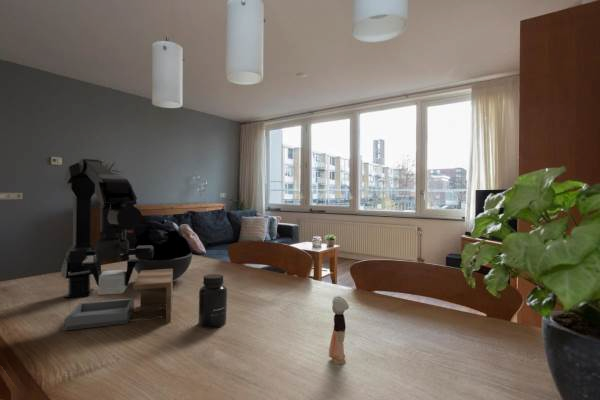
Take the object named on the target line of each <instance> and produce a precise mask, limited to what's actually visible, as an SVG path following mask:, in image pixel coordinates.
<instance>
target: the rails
mask: <svg viewBox="0 0 600 400" xmlns="http://www.w3.org/2000/svg"><path fill="white" fill-rule="evenodd" d="M163 309H166V306H162V307H154V308H152V307H151V308H143V309H133V312H132V313H134V312H145V311H146V312H147V311H153V310H154V311H155V310H163ZM165 318H166V315H161V316H154V317H151V316H150V317H145V318H144V317H143V318H137V319H135V318H134V319H129V321H128V323H130V322H131V323H132V322H139V321H148V320H155V319H165ZM61 330H65V326H64V327H62V329H61Z"/></svg>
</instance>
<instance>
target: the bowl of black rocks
mask: <svg viewBox="0 0 600 400" xmlns="http://www.w3.org/2000/svg"><path fill="white" fill-rule="evenodd" d="M150 233H151V232H150V230H148V229H147V230H146V229H145V230H144V231H143V232H142V233H141V234H138V236H136V238H135V239H136V240H137V241H136V242H135V244H134V248H133V249H136V248H137V247H138V246H144V245H152V246H153V247H154V256H153V258H152V259H142V260H141V262H139V263H136V265H135V267H134V270H135V271H136V272H137V274H138V275H139V273H140V272H141V271H144V270H160V269H173V281H175V280H177V279H179V278H180V277H182V275H184V273H186V272H187V270H188V269H189V266H190V265H191V262H192V258H193V253H192V251H191V248H190V246H189V245H188V244H189V243H188V242H187V239H186V237H184V236H182V235H181V234H180V232H179V231H178V230H171V231H167V232H166V233H163V236H165V237H168V238H166V240H165V241H163V242H162V243H158V242H155V241H152V239H151V238H150V237H149V235H150Z"/></svg>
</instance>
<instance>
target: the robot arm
mask: <svg viewBox="0 0 600 400" xmlns="http://www.w3.org/2000/svg"><path fill="white" fill-rule="evenodd" d="M64 173H65V174H64V182H65V183H66V188H67V190H68V192H69V194H71V196H72V199H73V200H72V207H73V209H72V244H71V245H70V246H69V248H68V249H67V251H66V254H65V258H64V259H63V262H62V265H61V269H60V275H61V277H62V278H63V279H65V280H66V279H68V290H67V291H68V292H67V293H66V294H65V295H64V297H63V298H64V299H69V298H80V297H81V298H82V297H89V296H90V295H91V294H92V293H93V292H94V290H95V289H94V288H91V275H93V277H94V280H95V283H96V285H97V287H99V275H101V274H102V265H101V263H102V262H104V261H114V262H115V261H117V260H119V259H120V258H121V257H123V258H124V257H125V258H126V257H128V260H127V261H126V270H127V272H126V279H125V286H127V287H128V285H129V282H130V280H131V277H132V275H133V271H134V270H135V268H134V267H135V265H136V263H139V262H141V260H142V259H152V258H153V256H154V247H153V246H152V245H144V246H138V247H137V248H136V249H134V248H130V242H129V238H128V239H127V231H133V230H135V229H137V228H138V227H139V226H141V224H142V222H143V214H142V212H141V211H140V209H138V207H135V205H137V199H138V198H137V196H136V194H135V191H134V189H133V186H132V184H131V182H130V181H129V180H128V179H127V178H126V177H124V176H120V175H119V176H118V175H115V174H113V173H112V172H111V171H110V170H109V169H108V168H107V167H106V166H105V165H104V164H103V162H102V160H100V159H98V158H95V159H94V158H80V160H79V161H78V162H77V163H74V164H72V165H70V166H68V168H67V169H66V170H65V172H64ZM94 194H95V196H96V198H97V200H98V202H99V204H100V206H99V208H100V232H99V238H98V242H97V243H96V245H95V247H94V246H93V245H92V244H91V240H92V239H91V236H92V235H91V233H92V230H91V228H92V227H91V226H92V222H91V221H92V198H93V196H94Z"/></svg>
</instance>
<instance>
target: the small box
mask: <svg viewBox="0 0 600 400" xmlns="http://www.w3.org/2000/svg"><path fill="white" fill-rule="evenodd" d="M126 272H127V269H117V270H116V269H115V270H114V269H113V270H103V272H101V275H99V287H98V286H97V287H98V289H97V290H98V291H97V294H98V295H119V294H123V293H124V292H125V291H126V289H127V288H128V285H127V286H125V279H126Z"/></svg>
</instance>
